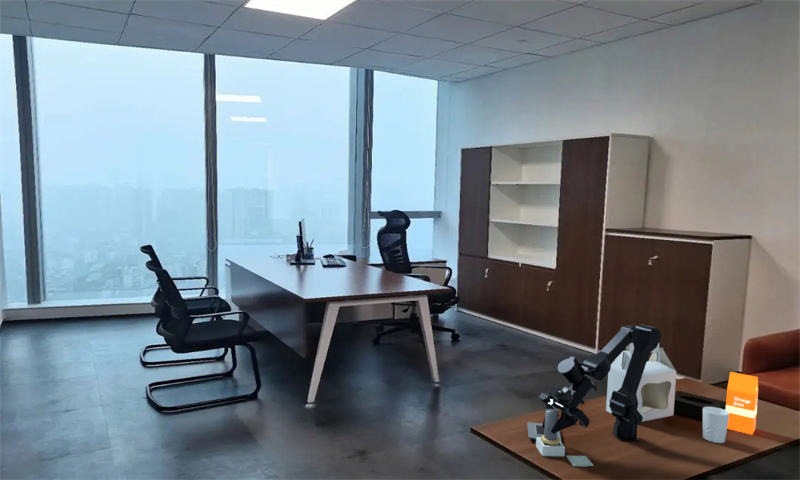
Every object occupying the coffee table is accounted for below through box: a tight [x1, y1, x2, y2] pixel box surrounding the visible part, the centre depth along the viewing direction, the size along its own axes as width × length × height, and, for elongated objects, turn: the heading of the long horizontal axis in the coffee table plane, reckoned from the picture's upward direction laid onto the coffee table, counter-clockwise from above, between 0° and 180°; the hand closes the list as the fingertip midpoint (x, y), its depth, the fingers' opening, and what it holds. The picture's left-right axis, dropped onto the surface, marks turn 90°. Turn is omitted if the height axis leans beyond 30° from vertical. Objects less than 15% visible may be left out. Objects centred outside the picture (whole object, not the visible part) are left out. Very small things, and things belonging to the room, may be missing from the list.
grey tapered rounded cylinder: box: [541, 408, 560, 446], centre depth 174 cm, size 6×6×13 cm
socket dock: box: [535, 437, 566, 457], centre depth 174 cm, size 7×7×3 cm
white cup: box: [702, 406, 729, 444], centre depth 188 cm, size 8×8×10 cm
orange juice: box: [725, 371, 759, 436], centre depth 199 cm, size 8×9×20 cm
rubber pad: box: [566, 455, 594, 467], centre depth 168 cm, size 6×6×1 cm
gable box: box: [605, 342, 677, 423], centre depth 210 cm, size 22×13×28 cm, turn 116°
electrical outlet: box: [526, 422, 562, 442], centre depth 186 cm, size 13×10×2 cm
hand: (547, 430), depth 173 cm, fingers closed on grey tapered rounded cylinder, 4 cm apart
